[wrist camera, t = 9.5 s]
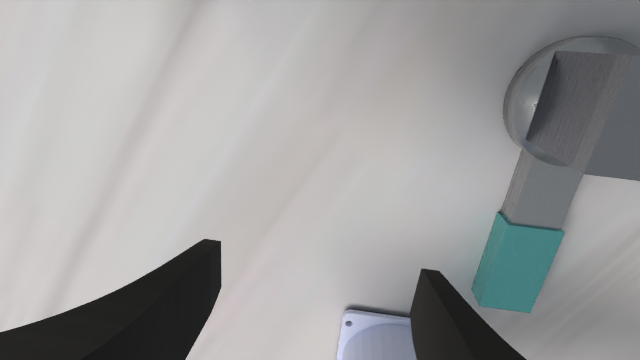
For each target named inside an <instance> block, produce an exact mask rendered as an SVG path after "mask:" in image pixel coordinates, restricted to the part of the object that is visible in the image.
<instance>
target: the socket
mask: <svg viewBox="0 0 640 360" xmlns="http://www.w3.org/2000/svg"><path fill="white" fill-rule="evenodd" d="M525 140H527V141H528V142H530V143H532V144H534V145H535V146H537V147H539V148H540V149H542V150H544V151H545V152H547V153H549V154H550V155H552V156H554V157H556V158H557V159H559V160H561V161H562V162H564V163H566V164H567V165H569V166H571V167H573V168H574V169H576V170H578V171H579V172H581V173H583V174H588V175H596V176H604V177H613V178H621V179H629V180H637V181H640V56H637V55H624V54H607V53H591V52H574V51H558V50H555V53H554V56H553V59H552V62H551V65H550V68H549V70H548V73H547V76H546V79H545V82H544V85H543V88H542V91H541V94H540V97H539V100H538V103H537V106H536V109H535V112H534V115H533V118H532V121H531V123H530V126H529V129H528V132H527V135H526V138H525Z"/></svg>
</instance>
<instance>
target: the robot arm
mask: <svg viewBox="0 0 640 360" xmlns="http://www.w3.org/2000/svg"><path fill="white" fill-rule="evenodd" d="M220 289H221V241H216V240H208V239H203V240H202V241H200V242H198V243H197V244H195V245H194V246H192V247H190V248H189V249H187V250H186V251H184V252H183V253H181V254H180V255H178V256H176V257H175V258H173V259H172V260H170V261H168V262H167V263H165V264H164V265H162V266H160V267H159V268H157V269H155V270H153V271H152V272H150V273H148V274H146V275H145V276H143V277H141V278H139V279H137V280H136V281H134V282H132V283H130V284H128V285H126V286H124V287H122V288H120V289H118V290H116V291H114V292H112V293H110V294H108V295H105V296H103V297H101V298H99V299H96V300H94V301H92V302H89V303H86V304H84V305H81V306H79V307H76V308H74V309H71V310H69V311H66V312H64V313H61V314H58V315H55V316H52V317H49V318H46V319H43V320H41V321H37V322H34V323H31V324H28V325H25V326H21V327H18V328H15V329H11V330H8V331H4V332H0V360H185V359H186V357H187V355H188V354H189V352H190V350H191V348H192V346H193V345H194V343H195V341H196V339H197V337H198V336H199V334H200V332H201V330H202V328H203V327H204V325H205V323H206V321H207V319H208V317H209V316H210V314H211V312H212V309H213V307H214V305H215V302H216V300H217V297H218V294H219V292H220ZM347 321H351V322H347ZM336 360H526V359H525V358H524V357H523V356H522V355H520V354H519V353H518V352H517V351H516V350H515V349H513V348H512V347H511V346H510V345H509V344H508V343H507V342H506V341H504V340H503V339H502V338H501V337H500V336H499V335H498V334H497V333H496V332H495V331H494V330H493V329H492V328H491V327H490V326H489V325H488V324H487V323H486V322H485V321H484V320H483V319H482V318H481V317H480V316H479V315H478V314H477V313H476V312H475V311H474V310H473V308H472V307H471V306H470V305H469V304H468V303H467V302H466V301H465V300H464V299H463V297H462V296H461V295H460V294H459V293H458V292H457V291H456V289H455V288H454V287H453V286H452V285H451V284H450V283H449V281H448V280H447V279H446V278H445V277H444V276H443V275H442V274H441V273H440V271H436V270H428V269H421V272H420V276H419V280H418V284H417V288H416V292H415V296H414V299H413V303H412V307H411V311H410V318H407V317H400V316H393V315H386V314H379V313H372V312H365V311H358V310H346V311H344V313H343V317H342V324H341V330H340V336H339V342H338V348H337V354H336Z"/></svg>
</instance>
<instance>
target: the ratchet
mask: <svg viewBox="0 0 640 360" xmlns="http://www.w3.org/2000/svg"><path fill="white" fill-rule="evenodd" d="M555 50H558V51H574V52H591V53H607V54H624V55H637V56H640V50H639V49H638V48H637V47H636V46H634V45H632V44H630V43H628V42H626V41H623V40H620V39H616V38H610V37H578V38H570V39H566V40H562V41H559V42H556V43H553V44H551V45H549V46H547V47H545V48H544V49H542V50H540V51H539V52H537V53H536V54H535V55H533V56H532V57H531V58H530V59H529V60H528V61H527V62H526V63H525V64H523V66H522V67H521V68H520V69H519V70H518V72H517V73H516V75H515V76H514V78H513V79H512V81H511V83H510V85H509V87H508V90H507V93H506V96H505V100H504V107H503V118H504V123H505V126H506V129H507V132H508V134H509V135H510V137H511V138H512V140H513V141H514V142H515V143H516V144H517V145H518V146H519V147H520V148H522V151H521V154H520V157H519V160H518V163H517V166H516V169H515V172H514V175H513V178H512V181H511V184H510V187H509V190H508V192H507V195H506V198H505V201H504V204H503V207H502V210H501V213H500V212H497V215H496V218H495V221H494V224H493V227H492V230H491V233H490V236H489V239H488V242H487V245H486V248H485V251H484V254H483V256H482V259H481V262H480V265H479V268H478V271H477V274H476V277H475V280H474V283H473V286H472V292H473V294H474V296H475V298H476V300H477V302H478V304H479V306H483V307H490V308H497V309H504V310H512V311H519V312H526V313H530V312H531V309H532V307H533V305H534V303H535V300H536V298H537V296H538V293H539V291H540V289H541V286H542V284H543V282H544V279H545V277H546V275H547V272H548V270H549V268H550V265H551V263H552V261H553V259H554V256H555V254H556V252H557V249H558V247H559V245H560V242H561V240H562V238H563V235H564V233H565V232H564V231H563V230H562V229H561V228H560V227H561V225H562V223H563V220H564V218H565V215H566V213H567V211H568V208H569V206H570V204H571V201H572V199H573V197H574V194H575V192H576V189H577V187H578V185H579V182H580V180H581V178H582V175H583V173H581V172H579V171H578V170H576V169H574V168H573V167H571V166H569V165H567V164H566V163H564V162H562V161H561V160H559V159H557V158H556V157H554V156H552V155H550V154H549V153H547V152H545V151H544V150H542V149H540V148H539V147H537V146H535V145H534V144H532V143H530V142H528V141H527V140H525V138H526V135H527V132H528V129H529V126H530V123H531V121H532V118H533V115H534V112H535V109H536V106H537V103H538V100H539V97H540V94H541V91H542V88H543V85H544V82H545V79H546V76H547V73H548V70H549V68H550V65H551V62H552V59H553V56H554V53H555Z"/></svg>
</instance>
